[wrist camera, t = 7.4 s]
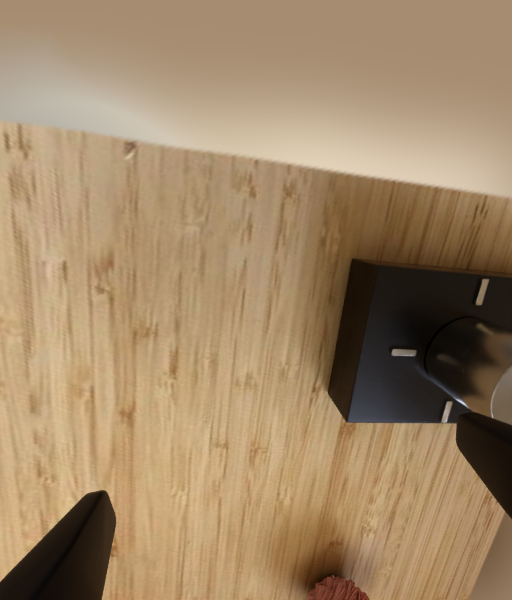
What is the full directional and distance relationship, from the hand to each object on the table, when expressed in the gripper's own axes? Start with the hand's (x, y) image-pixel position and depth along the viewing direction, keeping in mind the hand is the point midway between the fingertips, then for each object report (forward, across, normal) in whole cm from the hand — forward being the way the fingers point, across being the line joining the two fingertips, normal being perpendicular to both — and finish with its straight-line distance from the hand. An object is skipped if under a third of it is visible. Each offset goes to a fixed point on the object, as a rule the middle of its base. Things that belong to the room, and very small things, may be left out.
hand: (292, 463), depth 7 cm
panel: (+10, -11, +3) cm, 16 cm away
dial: (+7, -11, +3) cm, 14 cm away
